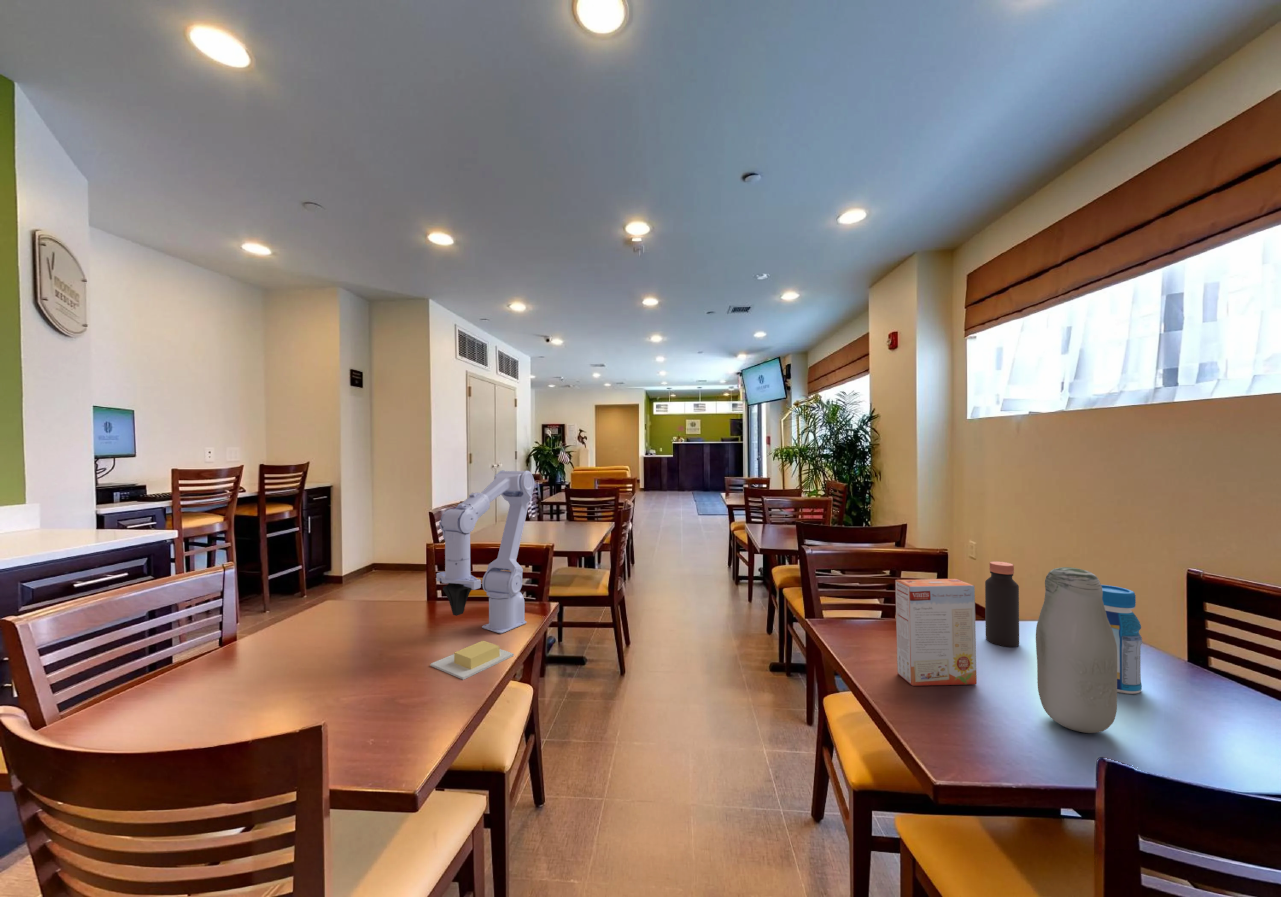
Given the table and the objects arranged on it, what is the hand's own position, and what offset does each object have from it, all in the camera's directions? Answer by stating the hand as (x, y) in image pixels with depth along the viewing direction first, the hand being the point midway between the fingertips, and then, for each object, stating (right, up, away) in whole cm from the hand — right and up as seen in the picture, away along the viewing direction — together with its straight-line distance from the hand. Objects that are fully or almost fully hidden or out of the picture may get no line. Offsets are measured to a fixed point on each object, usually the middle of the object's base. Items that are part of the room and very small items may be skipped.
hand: (458, 614), depth 113 cm
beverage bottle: (+143, -9, -17) cm, 144 cm away
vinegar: (+137, -9, +5) cm, 137 cm away
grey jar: (+121, -9, -31) cm, 126 cm away
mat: (+5, -9, -4) cm, 12 cm away
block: (+4, -8, -3) cm, 9 cm away
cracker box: (+108, -9, -14) cm, 109 cm away
